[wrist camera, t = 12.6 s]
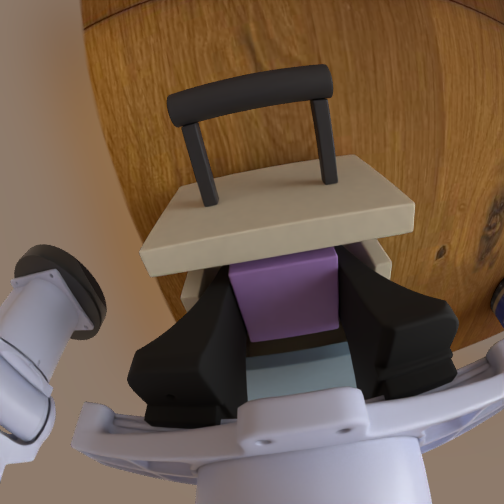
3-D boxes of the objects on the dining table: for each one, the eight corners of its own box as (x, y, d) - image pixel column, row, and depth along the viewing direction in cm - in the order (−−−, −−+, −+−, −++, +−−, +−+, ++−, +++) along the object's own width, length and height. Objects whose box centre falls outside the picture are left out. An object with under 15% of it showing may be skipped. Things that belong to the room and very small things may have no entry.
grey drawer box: (203, 268, 19) (181, 374, 12) (362, 241, 18) (415, 337, 11) (246, 373, 27) (245, 451, 19) (355, 356, 25) (374, 431, 18)
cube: (251, 286, 16) (250, 343, 12) (233, 223, 13) (227, 274, 10) (322, 274, 15) (339, 329, 12) (316, 208, 13) (338, 255, 10)
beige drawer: (155, 104, 13) (87, 121, 7) (342, 67, 11) (408, 58, 6) (233, 334, 22) (228, 410, 16) (356, 314, 21) (380, 386, 15)
